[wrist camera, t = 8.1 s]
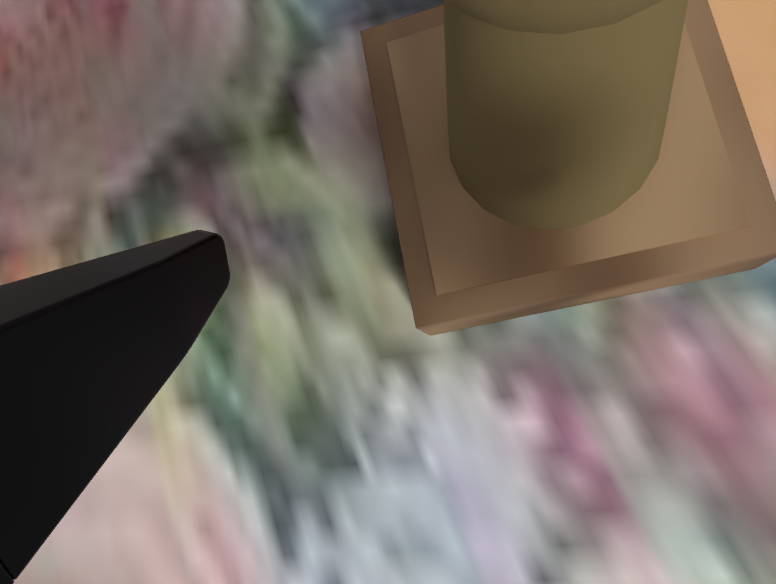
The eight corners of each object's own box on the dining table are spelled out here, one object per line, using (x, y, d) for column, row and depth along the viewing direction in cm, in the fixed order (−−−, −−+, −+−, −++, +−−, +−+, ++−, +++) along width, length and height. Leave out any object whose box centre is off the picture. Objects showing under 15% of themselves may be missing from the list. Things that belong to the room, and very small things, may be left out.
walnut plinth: (430, 335, 19) (414, 327, 16) (379, 71, 21) (358, 28, 19) (755, 268, 17) (794, 247, 14) (663, -16, 19) (683, -78, 17)
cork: (428, 72, 18) (273, -391, 7) (627, 4, 17) (793, -670, 6) (473, 254, 16) (368, 11, 6) (695, 194, 15) (1055, -243, 5)
